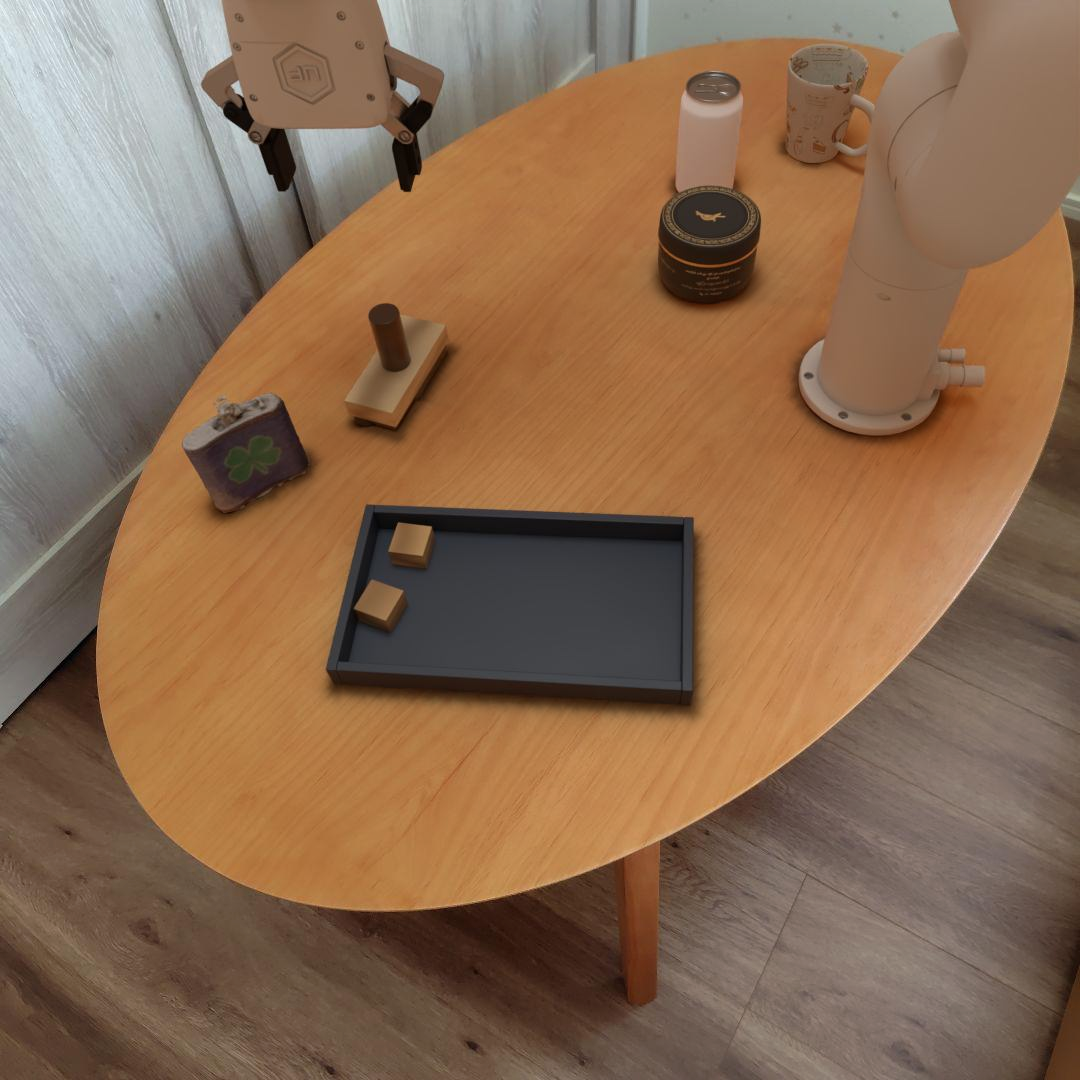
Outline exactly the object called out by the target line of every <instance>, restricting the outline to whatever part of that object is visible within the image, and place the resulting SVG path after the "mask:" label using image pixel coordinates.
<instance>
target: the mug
mask: <svg viewBox="0 0 1080 1080" xmlns="http://www.w3.org/2000/svg"><path fill="white" fill-rule="evenodd" d="M868 71H869V63H868V60H867V58H866V57H865V56H864V55H863V54H862V52H859V51H858V50H856V49H854V48H852V47H849V46H846V45H842V44H836V43H815V44H811V45H807V46H805V47H802V48H800V49H798V50H797V51H796V52H794V53H793V54H792V55H791V57H790V59H789V60H788V64H787V82H786V83H787V88H786V119H785V149H786V152H787V154H788V155H789V156H790V157H791V158H792V159H794V160H797V161H799V162H802V163H808V164H821V163H825V162H828V161H830V160H832V159H834V158H835V157H836V156H837V155H838V153H839V152H840V153H842V154H843V155H845V156H847V157H849V158H856V159H857V158H861V157H866V156H867V150H868V141H869V139H868V140H867V142H865V144H863V145H862V146H860V147H858V148H852V147H850V146H848V145H846V144H844V143H843V141H844V138H845V135H846V132H847V130H848V127H849V125H850V121H851V120H852V116H853V113H854V111H855V109H857V110H859V111H862V112H863V113H864V114H865V115H866V116H867V119H868V120H869V124H870V125H871V122H872V117H873V112H874V109H875V105H874V104H873V103H872V102H871V101H869V100H868V99H867V98H865V97H862V96H861V92H862V89H863V86H864V83H865V81H866V78H867V76H868Z"/></svg>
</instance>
